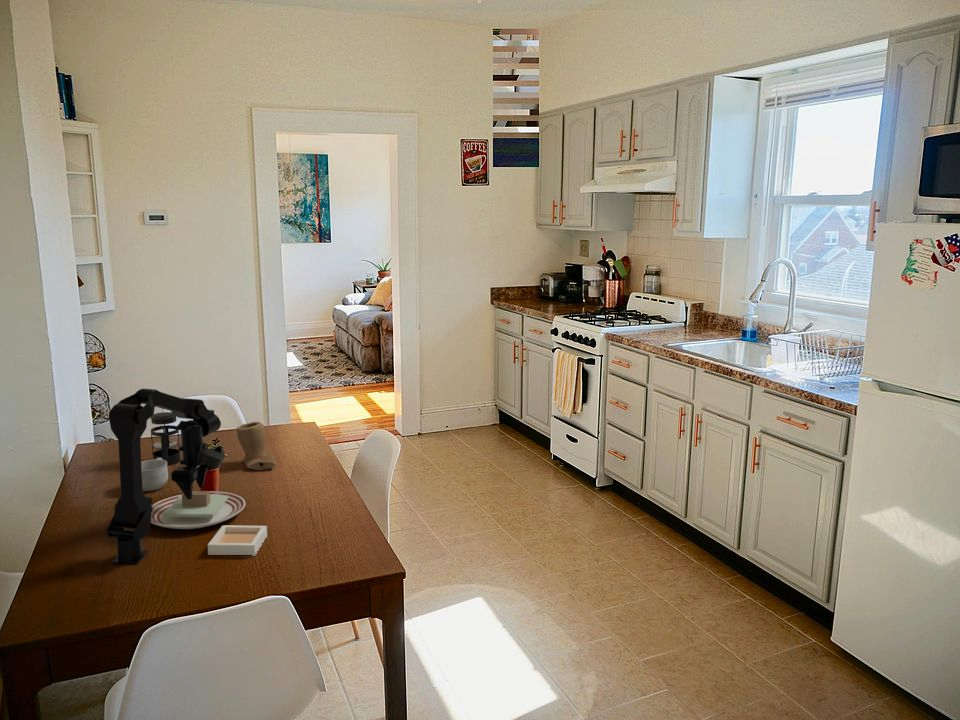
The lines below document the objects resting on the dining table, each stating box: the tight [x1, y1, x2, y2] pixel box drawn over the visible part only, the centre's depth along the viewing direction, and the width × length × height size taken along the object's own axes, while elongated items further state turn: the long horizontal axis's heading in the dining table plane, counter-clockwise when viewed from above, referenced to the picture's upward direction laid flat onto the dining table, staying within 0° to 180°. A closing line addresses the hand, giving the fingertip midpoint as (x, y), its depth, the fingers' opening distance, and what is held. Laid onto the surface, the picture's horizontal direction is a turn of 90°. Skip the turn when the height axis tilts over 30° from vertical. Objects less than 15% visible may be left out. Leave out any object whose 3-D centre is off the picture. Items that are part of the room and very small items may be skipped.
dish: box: [207, 524, 268, 557], centre depth 196 cm, size 12×12×3 cm
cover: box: [163, 490, 228, 517], centre depth 213 cm, size 14×14×4 cm
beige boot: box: [236, 421, 277, 471], centre depth 256 cm, size 15×12×15 cm
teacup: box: [141, 458, 169, 492], centre depth 235 cm, size 14×11×8 cm
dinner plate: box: [151, 490, 246, 530], centre depth 214 cm, size 27×27×3 cm
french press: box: [149, 409, 182, 467], centre depth 256 cm, size 12×9×23 cm
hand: (195, 493), depth 213 cm, fingers open, 9 cm apart
